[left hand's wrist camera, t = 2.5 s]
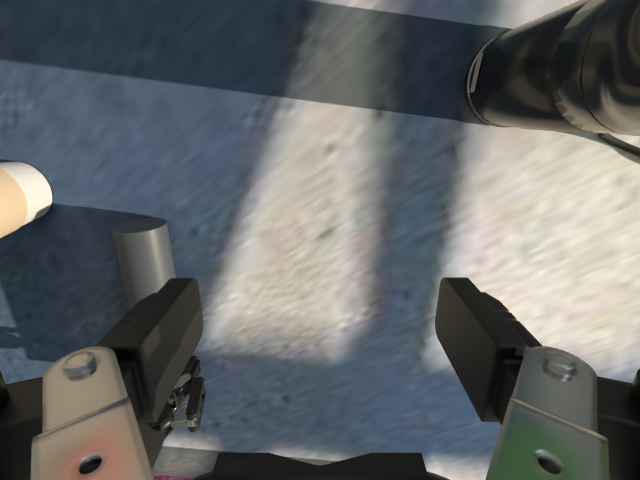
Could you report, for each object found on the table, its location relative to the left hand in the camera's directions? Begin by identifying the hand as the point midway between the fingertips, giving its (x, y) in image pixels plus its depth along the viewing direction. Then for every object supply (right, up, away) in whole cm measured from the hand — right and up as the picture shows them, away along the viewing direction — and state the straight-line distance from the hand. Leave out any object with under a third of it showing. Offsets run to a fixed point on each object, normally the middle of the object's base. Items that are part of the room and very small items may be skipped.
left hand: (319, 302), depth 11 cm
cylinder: (-21, -6, +35) cm, 41 cm away
